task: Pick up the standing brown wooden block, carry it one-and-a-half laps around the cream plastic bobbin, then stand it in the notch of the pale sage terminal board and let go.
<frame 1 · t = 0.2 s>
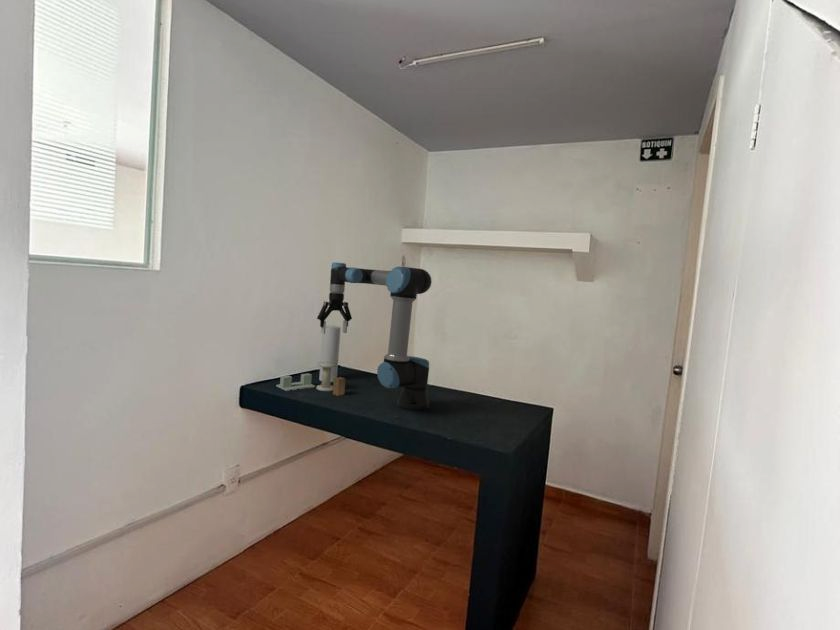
hand: (333, 333, 233), 28 cm above the table, fingers open, 13 cm apart
terminal board: (295, 386, 226), on the table
brown wooden block: (338, 394, 220), on the table
cylinder container: (327, 380, 246), on the table
bobbin: (325, 388, 227), on the table
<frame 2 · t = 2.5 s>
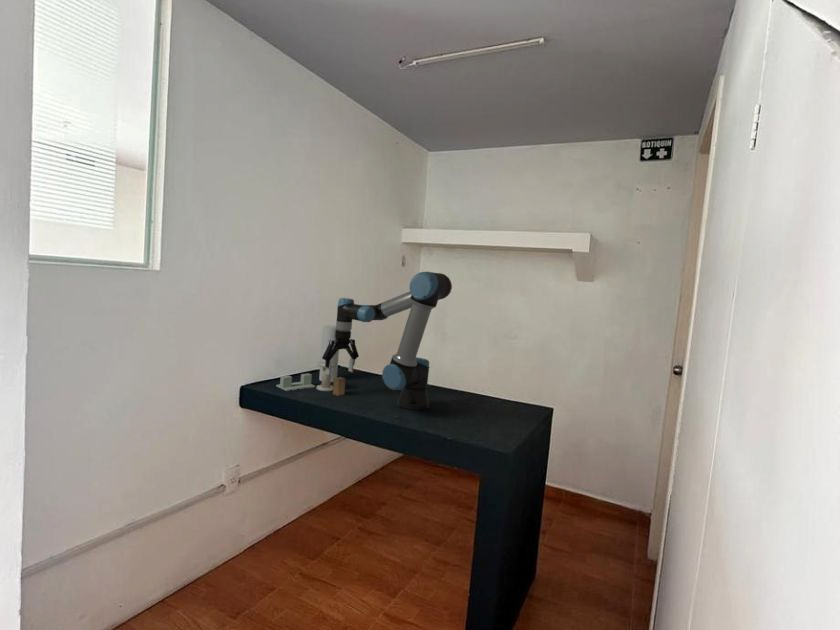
hand: (339, 372, 219), 11 cm above the table, fingers open, 13 cm apart
nothing on the table moved.
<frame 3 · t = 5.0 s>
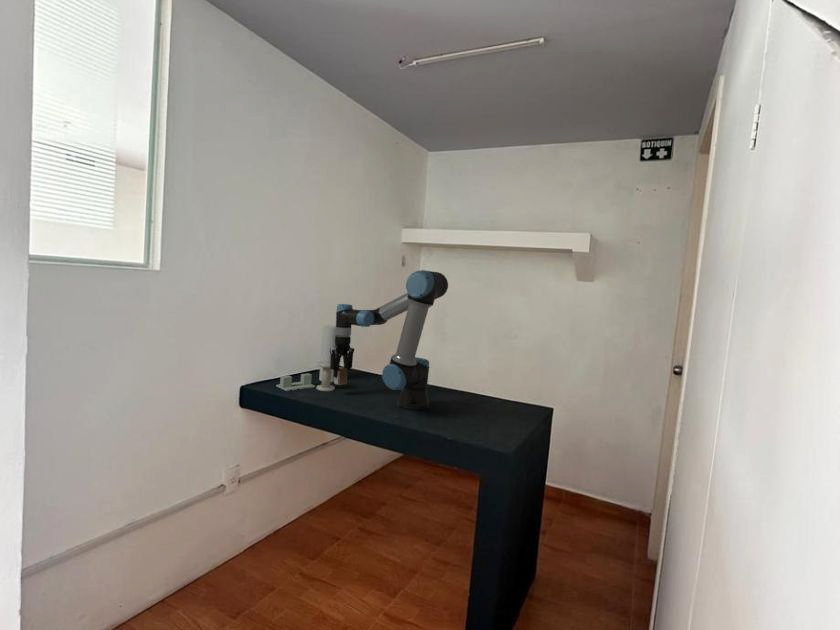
hand: (340, 383, 219), 6 cm above the table, fingers closed on brown wooden block, 4 cm apart
brown wooden block: (340, 383, 219), point 5 cm above the table, touching gripper
everything else where it was.
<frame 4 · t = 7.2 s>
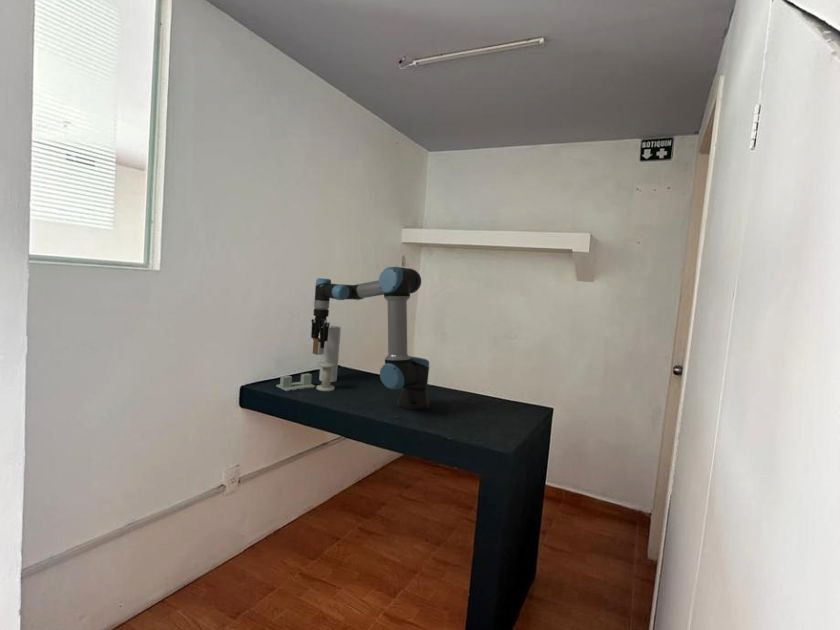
hand: (318, 353, 231), 17 cm above the table, fingers closed on brown wooden block, 4 cm apart
brown wooden block: (318, 353, 231), point 16 cm above the table, touching gripper
everything else where it was.
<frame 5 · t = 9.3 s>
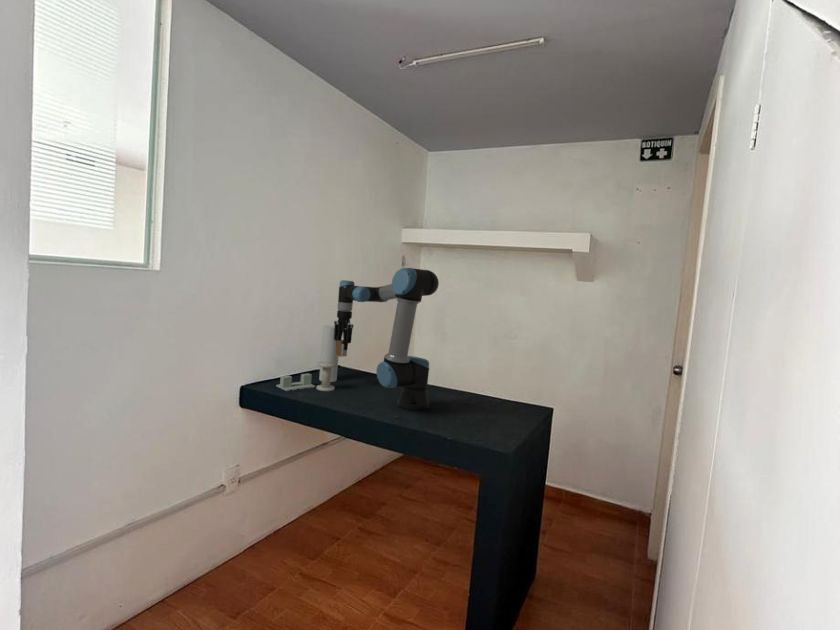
hand: (341, 355, 232), 17 cm above the table, fingers closed on brown wooden block, 4 cm apart
brown wooden block: (341, 355, 232), point 17 cm above the table, touching gripper
everything else where it was.
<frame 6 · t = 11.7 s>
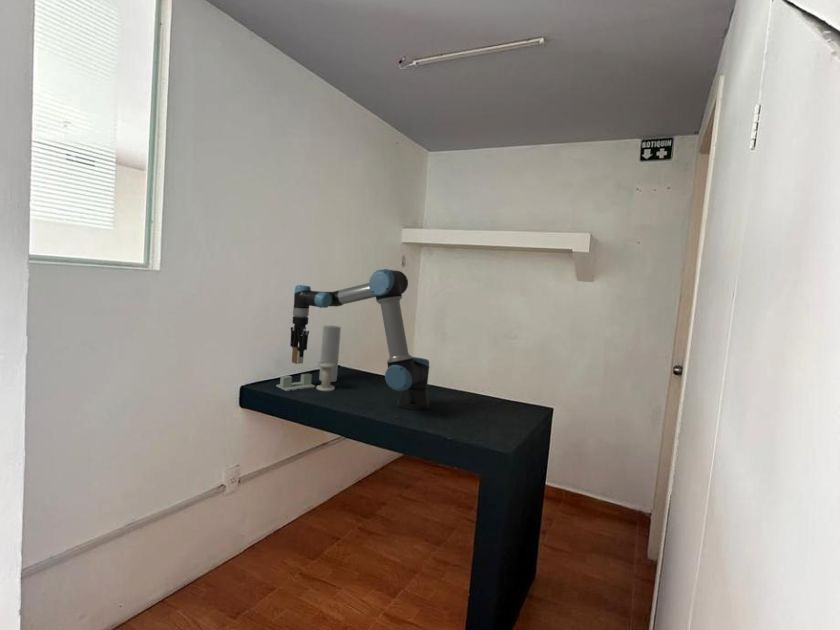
hand: (297, 362, 225), 13 cm above the table, fingers closed on brown wooden block, 4 cm apart
brown wooden block: (297, 362, 225), point 12 cm above the table, touching gripper
everything else where it was.
when the fingers open (2 cm above the table, at t = 13.8 s): brown wooden block stays where it is, resting on terminal board.
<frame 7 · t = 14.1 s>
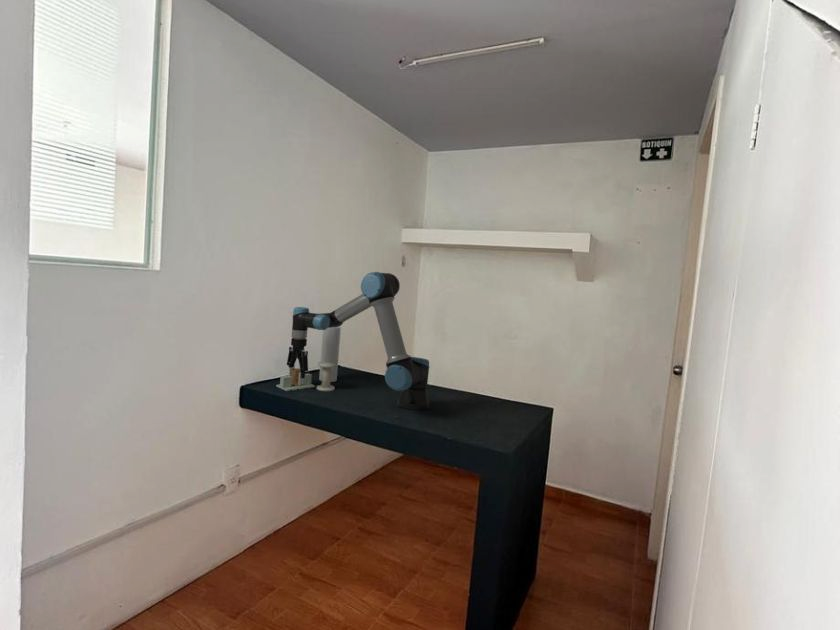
hand: (296, 382, 226), 2 cm above the table, fingers open, 9 cm apart
brown wooden block: (296, 385, 226), point 1 cm above the table, touching terminal board
everything else where it was.
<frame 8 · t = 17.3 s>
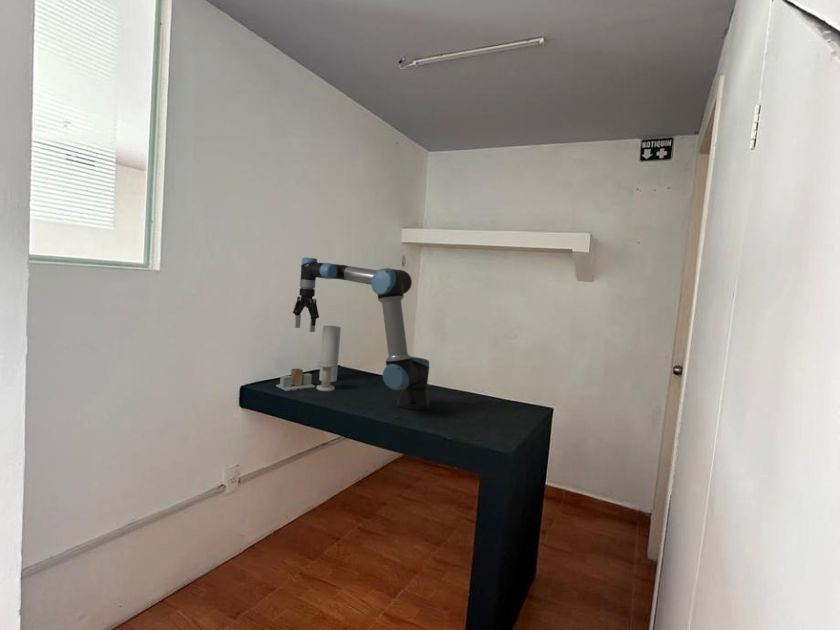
hand: (304, 329, 228), 29 cm above the table, fingers open, 13 cm apart
nothing on the table moved.
at the end: brown wooden block 0.0 cm off-centre on the terminal board, point 0.9 cm above the terminal board's base; brown wooden block tilted 0°; the gripper is holding nothing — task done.
